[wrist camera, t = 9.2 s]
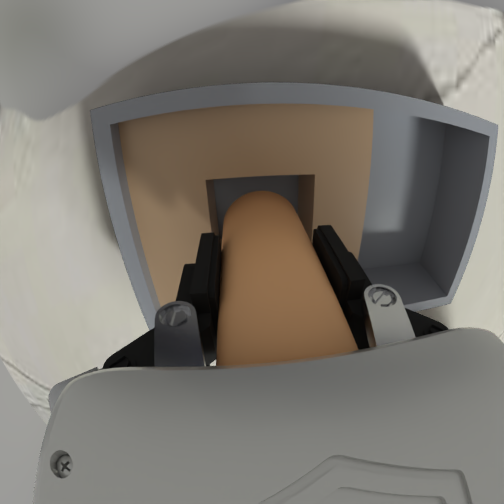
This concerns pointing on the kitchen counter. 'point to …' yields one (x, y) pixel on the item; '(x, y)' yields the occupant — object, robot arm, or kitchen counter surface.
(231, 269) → the peg
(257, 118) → the box
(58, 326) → the kitchen counter surface
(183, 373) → the robot arm
